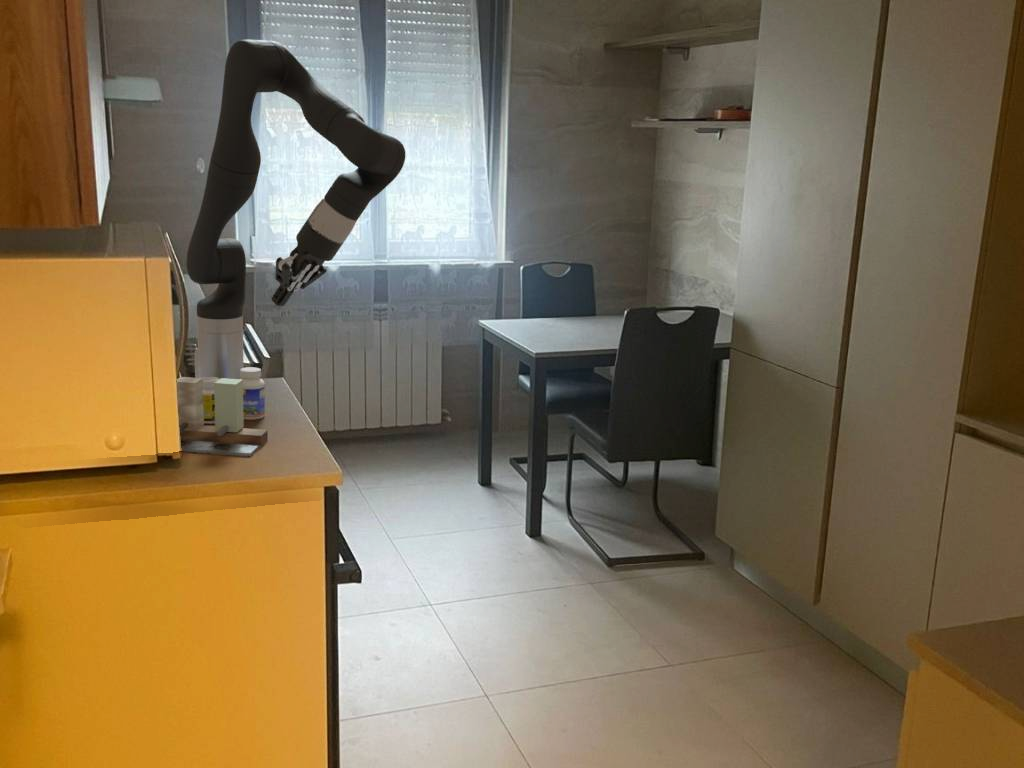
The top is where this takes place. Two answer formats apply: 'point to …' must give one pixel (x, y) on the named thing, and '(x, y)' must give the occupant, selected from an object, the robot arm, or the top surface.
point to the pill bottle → (253, 393)
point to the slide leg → (228, 405)
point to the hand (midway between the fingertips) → (276, 303)
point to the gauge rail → (228, 435)
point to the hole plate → (218, 447)
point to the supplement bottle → (209, 399)
